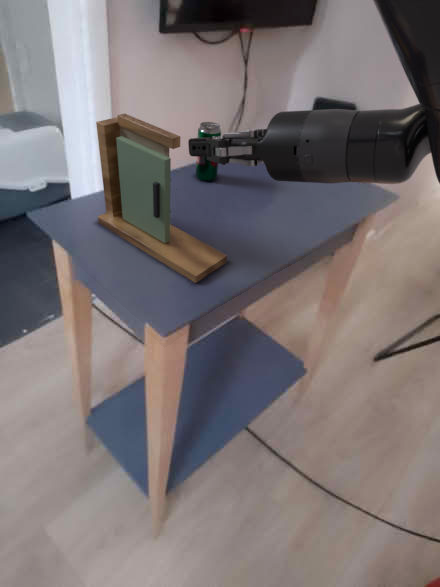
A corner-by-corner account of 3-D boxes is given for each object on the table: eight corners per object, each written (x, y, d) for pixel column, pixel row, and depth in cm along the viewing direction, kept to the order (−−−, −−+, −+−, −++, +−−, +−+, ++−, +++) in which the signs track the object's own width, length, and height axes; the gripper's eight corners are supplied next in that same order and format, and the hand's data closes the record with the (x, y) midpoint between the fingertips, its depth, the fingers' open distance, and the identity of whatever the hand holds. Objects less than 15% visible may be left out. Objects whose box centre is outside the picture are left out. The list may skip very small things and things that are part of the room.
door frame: (195, 283, 63) (203, 170, 50) (98, 223, 74) (84, 117, 61) (226, 262, 68) (240, 154, 55) (131, 209, 79) (124, 108, 66)
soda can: (192, 173, 93) (195, 121, 86) (212, 172, 95) (217, 120, 87) (199, 182, 90) (202, 129, 82) (219, 181, 92) (225, 128, 84)
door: (162, 245, 67) (161, 161, 57) (119, 220, 72) (112, 138, 62) (170, 240, 68) (170, 158, 58) (127, 216, 73) (121, 136, 63)
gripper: (338, 108, 47) (218, 114, 56) (291, 111, 37) (154, 118, 46) (333, 174, 50) (220, 169, 59) (288, 192, 40) (161, 183, 49)
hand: (192, 147), depth 52 cm, fingers closed
